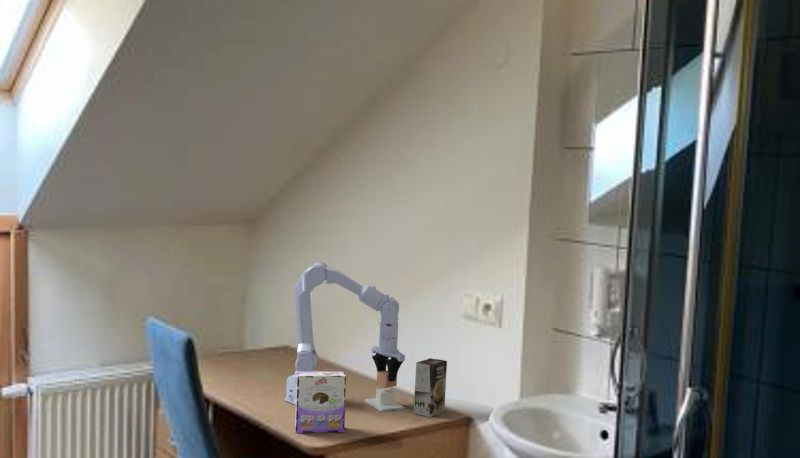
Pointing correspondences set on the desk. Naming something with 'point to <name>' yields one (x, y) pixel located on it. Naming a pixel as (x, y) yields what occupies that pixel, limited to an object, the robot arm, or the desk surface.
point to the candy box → (320, 402)
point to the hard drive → (384, 407)
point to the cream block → (385, 396)
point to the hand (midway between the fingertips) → (386, 379)
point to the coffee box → (430, 387)
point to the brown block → (385, 379)
